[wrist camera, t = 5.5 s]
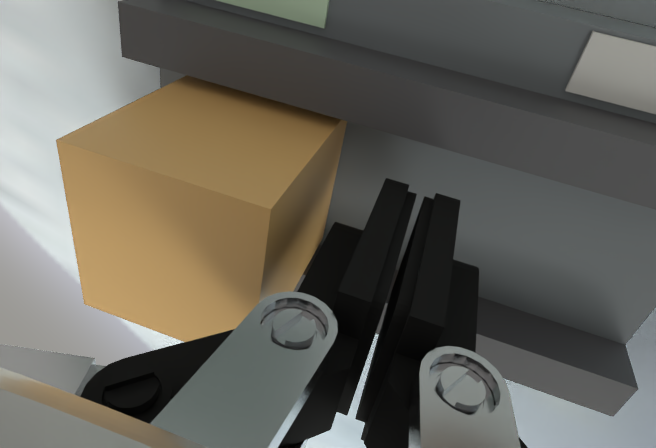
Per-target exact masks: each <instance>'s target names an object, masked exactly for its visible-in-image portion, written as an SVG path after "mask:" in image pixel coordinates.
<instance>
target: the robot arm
mask: <svg viewBox="0 0 656 448" xmlns="http://www.w3.org/2000/svg"><path fill="white" fill-rule="evenodd" d="M408 188H409V185H408V184H405V183H402V182H398V181H395V180H392V179H388V178H386V179H385V181H384V184H383V186H382V188H381V191H380V193H379V195H378V198H377V200H376V202H375V205H374V207H373V210H372V212H371V214H370V217H369V219H368V221H367V224H366V226H365V228H364V231H363V230H360V229H357V228H354V227H351V226H348V225H345V224H342V223H339V222H334V224H333V226H332V227H331V229H330V231H329V233H328V235H327V237H326V239H325V240H324V242H323V244H322V246H321V248H320V250H319V252H318V254H317V255H316V257H315V259H314V261H313V263H312V265H311V267H310V269H309V270H308V272H307V274H306V276H305V278H304V280H303V282H302V283H301V285H300V287H299V289H298V291H297V292H291V291H288V292H280V293H276V294H273V295H270V296H268V297H266V298H265V299H263V300H262V301H261V302H260V303H258V304H257V305H256V306H255V307H254V309H253V310H252V311H251V312H250V313H249V314H248V315H247V316H246V317H245V319H244V320H243V321H242V322H241V323H240V324H239V325H238V326H237V327H236V329H233V330H229V331H225V332H222V333H218V334H214V335H210V336H207V337H203V338H199V339H195V340H192V341H188V342H184V343H180V344H176V345H173V346H169V347H165V348H161V349H158V350H154V351H150V352H146V353H143V354H139V355H135V356H131V357H128V358H125V359H121V360H119V361H116V362H114V363H111V364H109V365H107V366H101V365H96V362H95V358H90V357H84V356H77V355H70V354H64V353H57V352H51V351H43V350H37V349H31V348H24V347H18V346H11V345H4V344H0V448H305V446H306V444H307V441H308V439H309V438H311V437H314V436H316V435H319V434H321V433H324V432H326V431H329V430H330V429H331V427H332V424H333V421H334V417H335V414H336V412H339V413H342V414H344V415H347V414H348V411H349V408H350V405H351V403H352V400H353V397H354V394H355V391H356V388H357V385H358V382H359V379H360V376H361V374H362V371H363V368H364V365H365V362H366V359H367V356H368V353H369V350H370V347H371V345H372V342H373V339H374V336H375V333H376V330H377V327H378V324H379V321H380V318H381V315H382V312H383V309H384V306H385V303H386V300H387V296H388V293H389V289H390V286H391V282H392V279H393V275H394V272H395V269H396V265H397V262H398V258H399V255H400V251H401V248H402V244H403V241H404V237H405V234H406V230H407V227H408V223H409V220H410V217H411V213H412V210H413V206H414V203H415V199H416V196H417V194H416V193H412V192H409V191H408ZM459 209H460V200H458V199H455V198H451V197H448V196H445V195H441V194H438V193H436V194H435V196H434V198H433V199H432V198H429V197H425V196H424V199H423V202H422V204H421V207H420V210H419V213H418V216H417V219H416V222H415V225H414V227H413V230H412V233H411V236H410V239H409V242H408V245H407V248H406V250H405V253H404V256H403V259H402V262H401V265H400V268H399V271H398V273H397V276H396V279H395V282H394V285H393V288H392V291H391V294H390V298H389V301H388V304H387V308H386V312H385V315H384V319H383V322H382V326H381V329H380V333H379V336H378V340H377V343H376V347H375V351H374V354H373V358H372V361H371V365H370V368H369V372H368V375H367V379H366V382H365V386H364V389H363V393H362V397H361V400H360V404H359V407H358V411H357V414H356V419H357V420H360V421H363V422H365V426H364V429H363V433H362V437H361V440H364V444H365V446H366V447H367V448H528V447H527V446H526V445H525V444H524V443H523V441H522V440H521V439H520V438H519V437H518V432H517V427H516V422H515V417H514V412H513V407H512V402H511V397H510V393H509V390H508V387H507V384H506V382H505V380H504V379H503V377H502V376H501V374H500V373H499V371H498V370H497V369H496V368H495V367H494V366H493V365H492V364H491V363H490V362H488V361H487V360H486V359H485V358H483V357H481V356H480V355H478V354H476V332H477V311H478V290H479V268H478V267H476V266H473V265H470V264H466V263H463V262H460V261H457V260H454V259H453V257H454V249H455V241H456V233H457V225H458V217H459Z"/></svg>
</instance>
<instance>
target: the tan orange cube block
mask: <svg viewBox="0 0 656 448" xmlns="http://www.w3.org/2000/svg"><path fill="white" fill-rule="evenodd" d="M346 125H347V121H344V120H341V119H337V118H334V117H330V116H327V115H324V114H320V113H317V112H313V111H310V110H306V109H303V108H299V107H296V106H292V105H289V104H285V103H282V102H278V101H275V100H271V99H268V98H264V97H261V96H257V95H254V94H250V93H247V92H243V91H240V90H236V89H233V88H229V87H226V86H222V85H219V84H215V83H212V82H208V81H205V80H202V79H198V78H195V77H191V76H188V75H186V76H184V77H182V78H180V79H178V80H176V81H174V82H172V83H170V84H168V85H166V86H164V87H162V88H160V89H158V90H156V91H154V92H152V93H150V94H148V95H146V96H144V97H142V98H140V99H138V100H136V101H134V102H132V103H130V104H128V105H126V106H124V107H122V108H120V109H118V110H116V111H114V112H112V113H110V114H108V115H106V116H104V117H102V118H100V119H98V120H96V121H94V122H92V123H90V124H88V125H86V126H83V127H81V128H79V129H77V130H75V131H73V132H71V133H69V134H67V135H65V136H63V137H61V138H59V139H57V140H56V142H57V148H58V154H59V160H60V165H61V171H62V177H63V183H64V189H65V194H66V200H67V206H68V212H69V218H70V223H71V229H72V235H73V241H74V247H75V252H76V258H77V264H78V270H79V276H80V281H81V287H82V293H83V299H84V304H86V305H88V306H91V307H93V308H96V309H99V310H101V311H104V312H107V313H109V314H112V315H115V316H117V317H120V318H123V319H125V320H128V321H131V322H133V323H136V324H139V325H141V326H144V327H147V328H149V329H152V330H154V331H157V332H160V333H162V334H165V335H168V336H170V337H173V338H176V339H178V340H181V341H184V342H188V341H192V340H195V339H199V338H203V337H207V336H210V335H214V334H218V333H222V332H225V331H229V330H233V329H236V327H237V326H238V325H239V324H240V323H241V322H242V321H243V320H244V319H245V317H246V316H247V315H248V314H249V313H250V312H251V311H252V310H253V309H254V307H255V306H256V305H257V304H258V303H260V302H261V301H262V300H263V299H265V298H266V297H268V296H270V295H273V294H276V293H280V292H288V291H291V292H293V291H294V289H295V287H296V285H297V284H298V282H299V280H300V278H301V276H302V275H303V273H304V271H305V269H306V267H307V265H308V264H309V262H310V260H311V258H312V256H313V255H314V253H315V251H316V249H317V247H318V246H319V244H320V242H321V240H322V238H323V235H324V230H325V225H326V220H327V215H328V211H329V206H330V201H331V196H332V192H333V187H334V182H335V177H336V172H337V168H338V163H339V158H340V153H341V148H342V144H343V139H344V134H345V129H346Z"/></svg>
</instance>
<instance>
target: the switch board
mask: <svg viewBox="0 0 656 448" xmlns="http://www.w3.org/2000/svg"><path fill="white" fill-rule="evenodd" d="M118 8H119V21H120V34H121V48H122V57H125V58H128V59H132V60H135V61H139V62H142V63H146V64H149V65H153V66H156V67H160V82H161V88H162V87H164V86H166V85H168V84H170V83H172V82H174V81H176V80H178V79H180V78H182V77H184V76H186V75H188V76H191V77H195V78H198V79H202V80H205V81H208V82H212V83H215V84H219V85H222V86H226V87H229V88H233V89H236V90H240V91H243V92H247V93H250V94H254V95H257V96H261V97H264V98H268V99H271V100H275V101H278V102H282V103H285V104H289V105H292V106H296V107H299V108H303V109H306V110H310V111H313V112H317V113H320V114H324V115H327V116H330V117H334V118H337V119H341V120H344V121H347V125H346V129H345V134H344V139H343V144H342V148H341V153H340V158H339V163H338V168H337V172H336V177H335V182H334V187H333V192H332V196H331V201H330V206H329V211H328V215H327V220H326V225H325V230H324V235H323V238H322V240H321V242H320V244H319V246H318V247H317V249H316V251H315V253H314V255H313V256H312V258H311V260H310V262H309V264H308V265H307V267H306V269H305V271H304V273H303V275H302V276H301V278H300V280H299V282H298V284H297V285H296V287H295V289H294V291H293V292H297V291H298V289H299V287H300V285H301V283H302V282H303V280H304V278H305V276H306V274H307V272H308V270H309V269H310V267H311V265H312V263H313V261H314V259H315V257H316V255H317V254H318V252H319V250H320V248H321V246H322V244H323V242H324V240H325V239H326V237H327V235H328V233H329V231H330V229H331V227H332V226H333V224H334V222H339V223H342V224H345V225H348V226H351V227H354V228H357V229H360V230H363V231H364V228H365V226H366V224H367V221H368V219H369V217H370V214H371V212H372V210H373V207H374V205H375V202H376V200H377V198H378V195H379V193H380V191H381V188H382V186H383V184H384V181H385V179H386V178H388V179H392V180H395V181H398V182H402V183H405V184H408V185H409V188H408V191H409V192H412V193H416V194H417V196H416V199H415V203H414V206H413V210H412V213H411V217H410V220H409V223H408V227H407V230H406V234H405V237H404V241H403V244H402V248H401V251H400V255H399V258H398V262H397V265H396V269H395V272H394V275H393V279H392V282H391V286H390V289H389V293H388V296H387V300H386V303H385V306H384V309H383V312H382V315H381V318H380V321H379V324H378V327H377V330H376V333H377V334H379V333H380V329H381V326H382V322H383V319H384V315H385V312H386V308H387V304H388V301H389V298H390V294H391V291H392V288H393V285H394V282H395V279H396V276H397V273H398V271H399V268H400V265H401V262H402V259H403V256H404V253H405V250H406V248H407V245H408V242H409V239H410V236H411V233H412V230H413V227H414V225H415V222H416V219H417V216H418V213H419V210H420V207H421V204H422V202H423V199H424V196H425V197H429V198H432V199H433V198H434V196H435V194H436V193H438V194H441V195H445V196H448V197H451V198H455V199H458V200H460V209H459V217H458V225H457V233H456V241H455V249H454V257H453V259H454V260H457V261H460V262H463V263H466V264H470V265H473V266H476V267H478V268H479V290H478V311H477V332H476V354H478V355H480V356H481V357H483V358H485V359H486V360H487V361H488V362H490V363H491V364H492V365H493V366H494V367H495V368H496V369H497V370H498V371H499V373H500V374H501V376H502V377H503V378H505V379H507V380H510V381H513V382H516V383H519V384H522V385H525V386H527V387H530V388H533V389H536V390H539V391H542V392H544V393H547V394H550V395H553V396H556V397H559V398H562V399H564V400H567V401H570V402H573V403H576V404H579V405H581V406H584V407H587V408H590V409H593V410H596V411H599V412H601V413H604V414H607V415H610V416H614V415H615V414H616V413H617V412H618V411H619V410H620V408H621V407H622V406H623V405H624V404H625V403H626V402H627V401H628V400H629V398H630V397H631V396H632V395H633V394H634V393H635V392H636V391H637V389H638V386H637V383H636V380H635V376H634V373H633V370H632V366H631V363H630V360H629V356H628V353H627V350H626V346H625V344H626V343H627V342H628V341H629V339H630V338H631V337H632V336H633V334H634V333H635V332H636V331H637V329H638V328H639V327H640V326H641V324H642V323H643V322H644V321H645V319H646V318H647V317H648V316H649V314H650V313H651V312H652V311H653V309H654V308H655V307H656V28H654V27H650V26H645V25H641V24H637V23H633V22H628V21H624V20H620V19H615V18H611V17H607V16H603V15H598V14H594V13H590V12H586V11H581V10H577V9H573V8H568V7H564V6H560V5H556V4H551V3H547V2H543V1H538V0H123V1H118Z"/></svg>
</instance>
